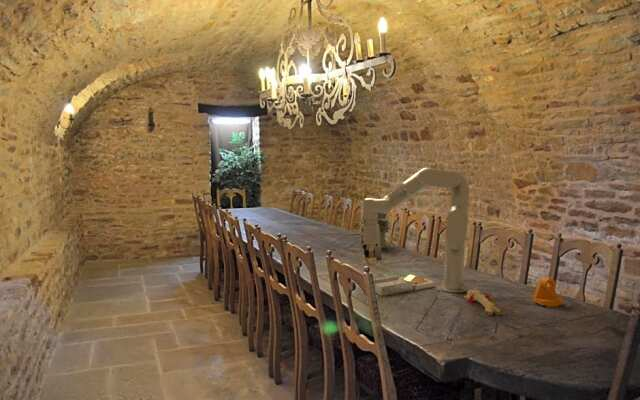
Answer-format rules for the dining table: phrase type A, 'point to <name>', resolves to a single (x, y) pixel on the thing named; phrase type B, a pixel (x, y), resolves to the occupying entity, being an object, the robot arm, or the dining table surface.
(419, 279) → the chip
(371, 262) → the scraper
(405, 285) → the channel
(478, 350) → the dining table surface
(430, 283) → the tray
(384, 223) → the religious sculpture
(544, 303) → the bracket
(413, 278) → the chip
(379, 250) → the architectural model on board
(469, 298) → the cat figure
